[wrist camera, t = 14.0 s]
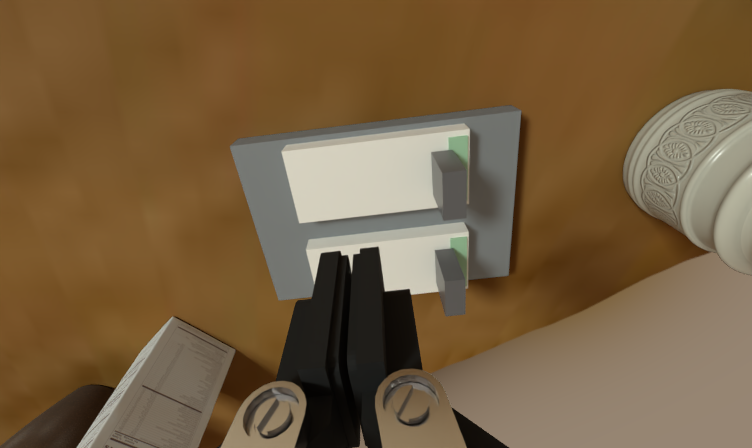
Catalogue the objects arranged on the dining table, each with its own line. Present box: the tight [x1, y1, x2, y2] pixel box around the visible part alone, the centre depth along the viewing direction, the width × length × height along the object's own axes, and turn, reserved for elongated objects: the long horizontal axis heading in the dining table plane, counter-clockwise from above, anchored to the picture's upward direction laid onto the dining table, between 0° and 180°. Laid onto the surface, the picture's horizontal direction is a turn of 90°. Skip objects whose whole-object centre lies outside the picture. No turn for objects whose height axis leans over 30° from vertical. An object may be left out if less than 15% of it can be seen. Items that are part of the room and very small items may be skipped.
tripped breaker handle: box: [431, 150, 467, 221], centre depth 29 cm, size 4×2×5 cm, turn 7°
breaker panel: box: [230, 105, 521, 300], centre depth 36 cm, size 18×26×5 cm
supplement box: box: [77, 317, 236, 448], centre depth 40 cm, size 10×9×17 cm
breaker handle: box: [435, 248, 465, 316], centre depth 34 cm, size 4×2×5 cm, turn 7°
